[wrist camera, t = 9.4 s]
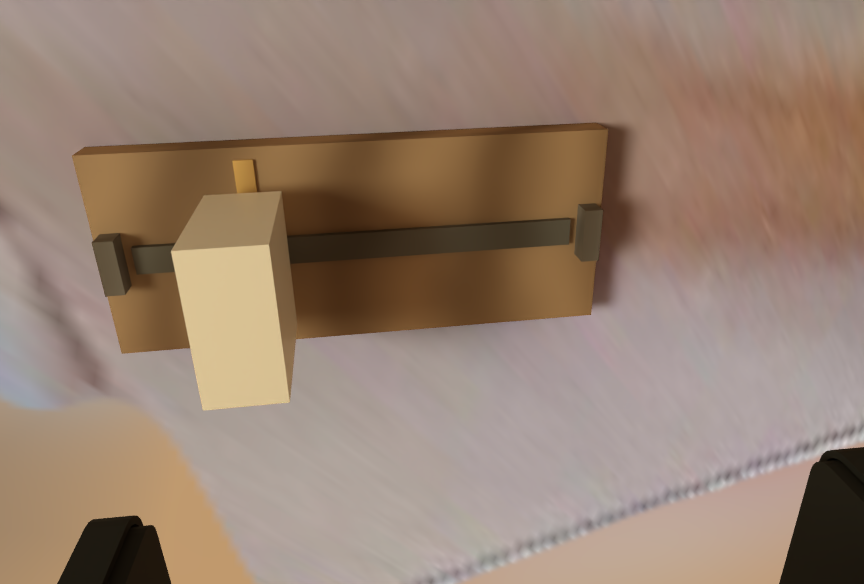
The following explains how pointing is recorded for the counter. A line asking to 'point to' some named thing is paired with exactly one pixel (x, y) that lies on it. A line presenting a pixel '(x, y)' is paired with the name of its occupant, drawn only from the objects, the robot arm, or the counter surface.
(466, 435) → the counter surface
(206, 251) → the fader cap
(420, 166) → the fader board
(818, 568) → the robot arm
